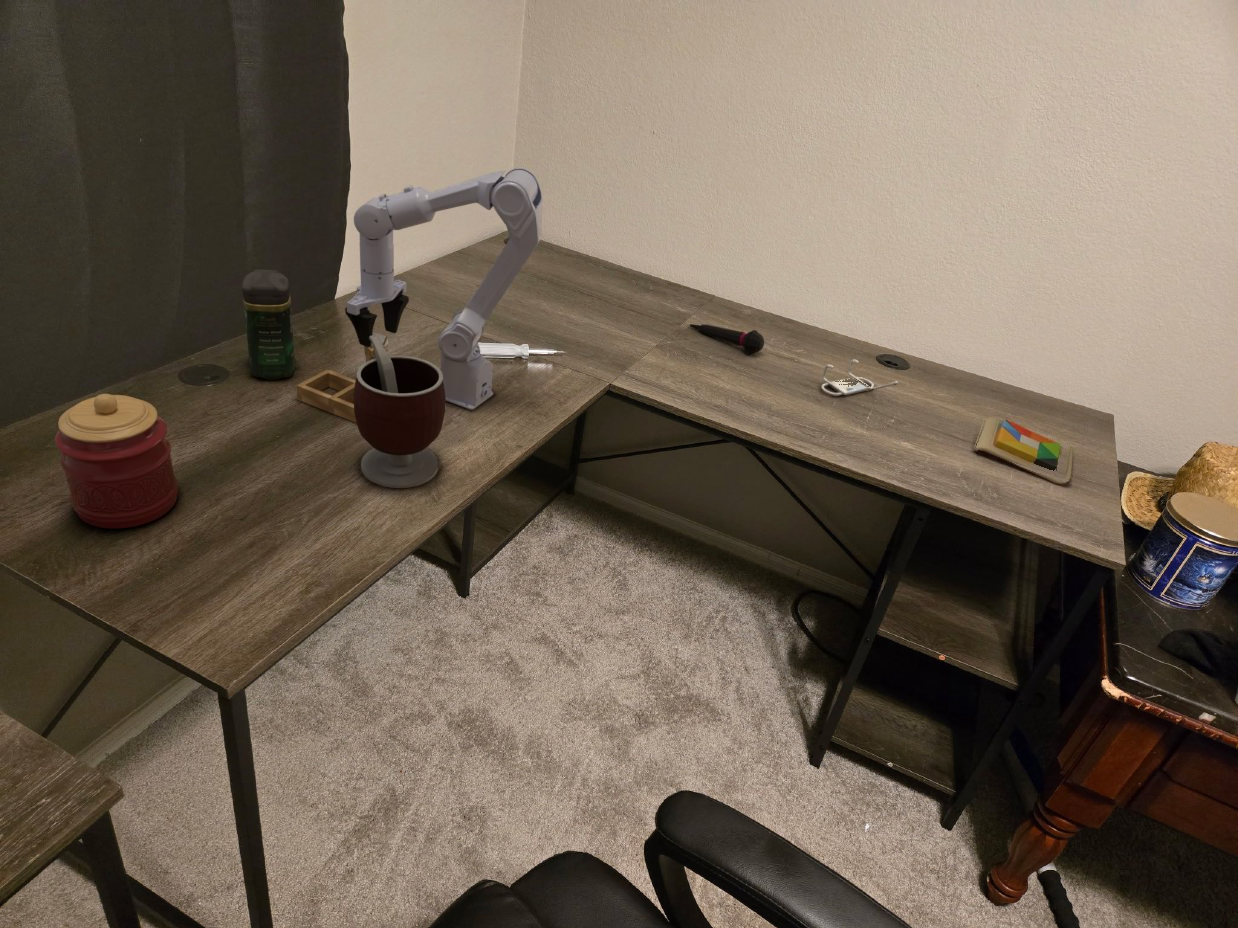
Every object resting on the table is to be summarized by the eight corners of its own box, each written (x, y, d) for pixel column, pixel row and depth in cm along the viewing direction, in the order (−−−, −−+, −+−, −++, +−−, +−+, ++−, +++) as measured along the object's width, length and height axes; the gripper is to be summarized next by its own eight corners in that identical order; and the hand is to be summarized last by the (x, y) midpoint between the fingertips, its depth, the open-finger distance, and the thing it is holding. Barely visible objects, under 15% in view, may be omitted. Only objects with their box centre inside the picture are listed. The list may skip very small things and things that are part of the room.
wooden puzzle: (1066, 488, 160) (1074, 474, 158) (971, 453, 166) (978, 439, 164) (1070, 453, 173) (1077, 439, 171) (982, 421, 179) (988, 408, 178)
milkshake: (377, 388, 150) (376, 340, 145) (358, 377, 153) (357, 329, 147) (396, 381, 154) (396, 334, 148) (378, 370, 156) (377, 324, 151)
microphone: (685, 340, 198) (757, 361, 189) (683, 321, 194) (757, 341, 185) (696, 328, 201) (768, 348, 192) (695, 309, 197) (768, 328, 188)
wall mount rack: (855, 374, 190) (862, 353, 187) (898, 402, 181) (907, 379, 178) (809, 384, 182) (817, 361, 178) (853, 413, 173) (861, 390, 170)
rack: (394, 408, 145) (394, 394, 144) (366, 427, 139) (365, 412, 137) (327, 383, 149) (327, 369, 148) (297, 399, 143) (296, 385, 141)
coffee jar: (295, 381, 148) (288, 287, 138) (249, 381, 145) (238, 286, 135) (296, 357, 155) (289, 266, 145) (251, 357, 153) (241, 264, 143)
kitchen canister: (194, 481, 120) (177, 378, 110) (155, 535, 109) (132, 426, 99) (103, 472, 118) (77, 366, 109) (54, 525, 107) (21, 414, 98)
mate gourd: (459, 474, 132) (465, 367, 121) (384, 501, 123) (383, 388, 112) (408, 431, 140) (409, 327, 129) (334, 453, 131) (329, 343, 120)
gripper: (384, 252, 148) (385, 319, 155) (331, 273, 136) (334, 344, 144) (415, 262, 146) (415, 330, 154) (364, 284, 135) (366, 356, 142)
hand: (378, 338), depth 149 cm, fingers open, 7 cm apart
